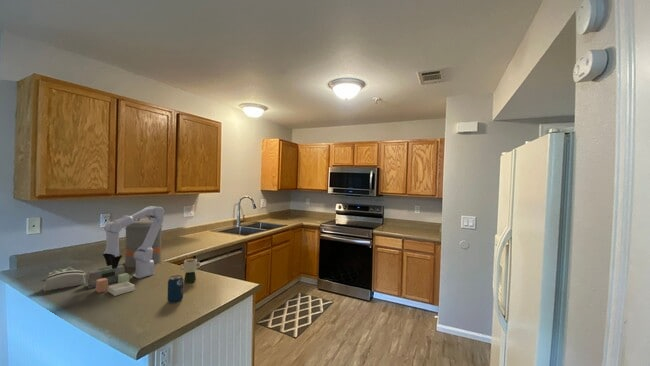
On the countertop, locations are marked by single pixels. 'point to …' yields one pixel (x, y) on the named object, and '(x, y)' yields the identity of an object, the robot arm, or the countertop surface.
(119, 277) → the sage green block
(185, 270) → the character mug
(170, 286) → the soda can
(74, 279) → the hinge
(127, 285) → the off-white tray
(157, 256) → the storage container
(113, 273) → the grey unit
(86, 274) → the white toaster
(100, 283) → the terracotta block
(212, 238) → the countertop surface
